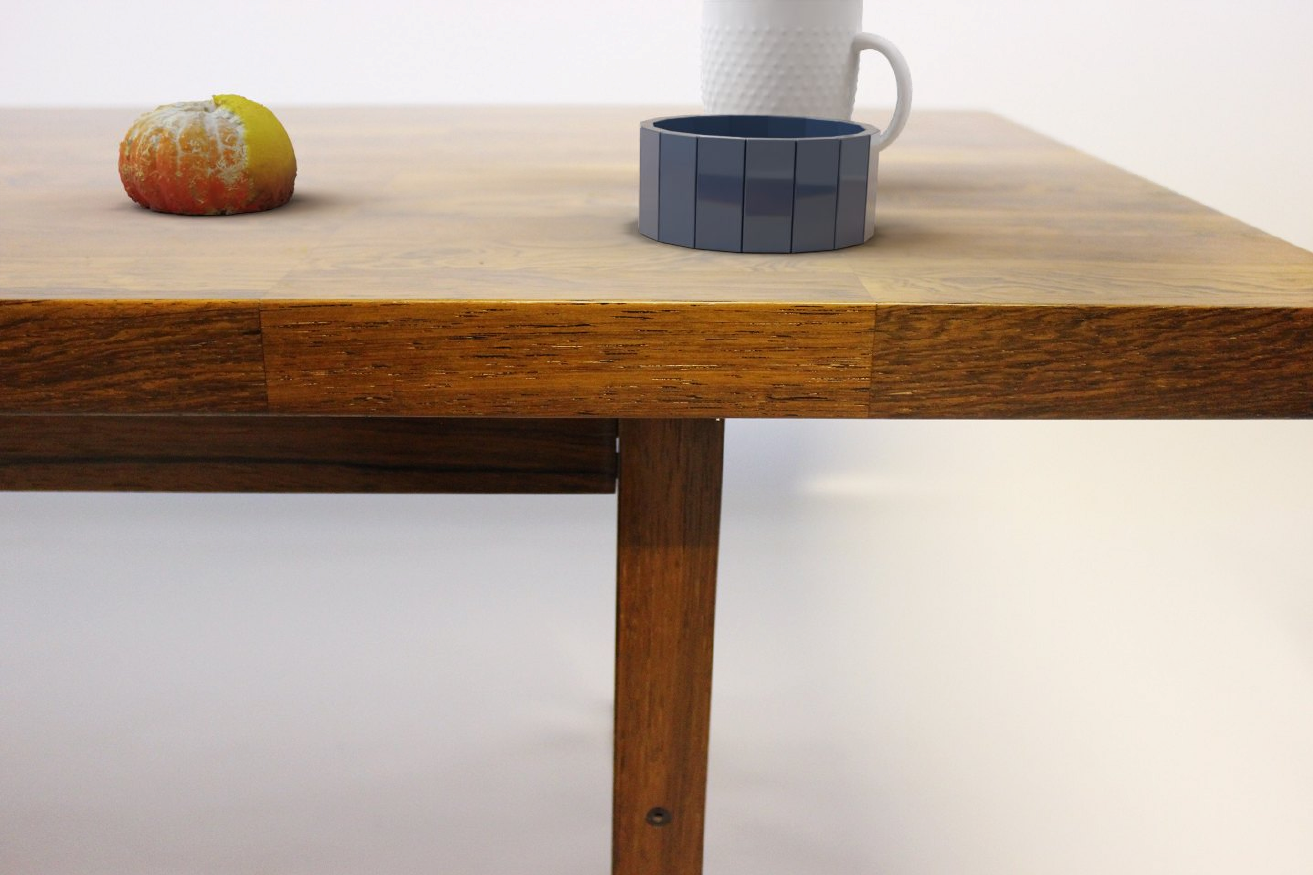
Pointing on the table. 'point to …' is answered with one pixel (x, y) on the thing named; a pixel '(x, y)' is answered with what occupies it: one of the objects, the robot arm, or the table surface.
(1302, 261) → the table surface
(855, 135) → the pot
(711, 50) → the mug
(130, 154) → the fruit
